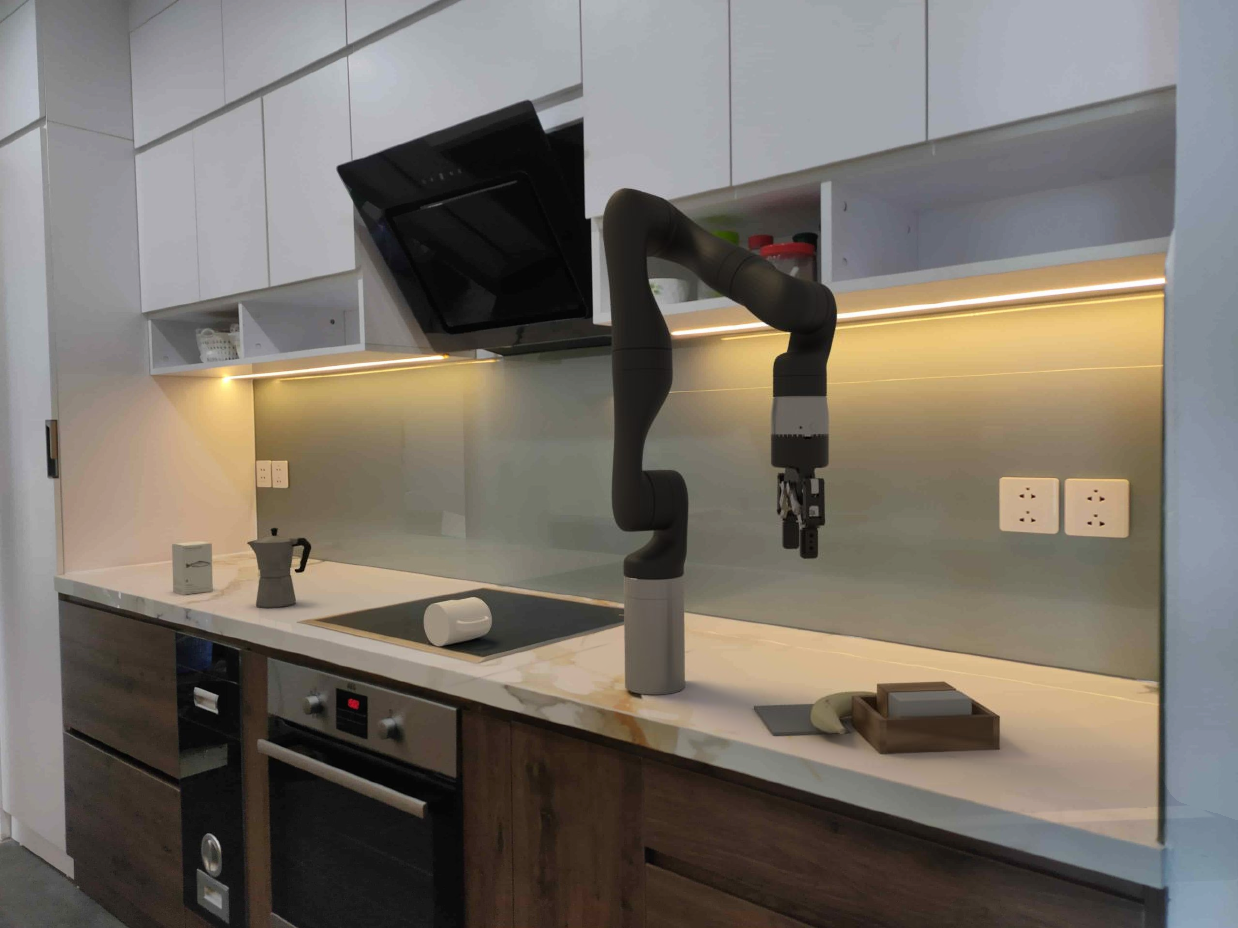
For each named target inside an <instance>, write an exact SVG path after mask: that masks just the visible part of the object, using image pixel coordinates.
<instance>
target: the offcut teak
mask: <svg viewBox="0 0 1238 928" xmlns="http://www.w3.org/2000/svg"><path fill="white" fill-rule="evenodd" d="M952 690H958V689H957V688H955V687H954V686H952V685H951V684H949V683H948V682H946V681H922V682H921V681H919V682H918V681H916V682H915V681H913V682H912V681H911V682H886V683H884V682H883V683H882V682H881V683H876V693H877V713H879V714H880V715H881V716H882V717H883V718H889V695H888V693H894V692H923V691H952Z"/></svg>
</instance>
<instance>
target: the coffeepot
mask: <svg viewBox="0 0 1238 928" xmlns="http://www.w3.org/2000/svg"><path fill="white" fill-rule="evenodd" d="M278 531H279V528H277V527H272V528H270V533H271V535H270V536H267V537H262V538H257V539H253V540H250V541H247V543H246V545H248V546H250V547H251V549H252V551H253V552H254V554H255V556H256V557H255V558H256V562H257V568H258V569H257V570H258V571H259V576H260V577H259V581H258V588H257V596H256V600H255V606H256V607H257V608H262V609H263V608H264V609H265V608H268V609H269V608H271V609H272V608H273V609H274V608H281V607H282V608H283V607H288V606H293V605H295V604H296V601H297V600H296V593H295V589H294V583H293V578H292V575H291V569H292V565H293V557H294V556H293V555H294V547H295V548H296V547H299V546H302V547H303V550H302V553H301V554H302V555H301V559H300V561H299V568H294V573H296V574H300V573H304V572H305V570H306V566H307V563H308V560H309V556H310V553H311V550H312V544H311V543H310V541H308V540H307V539H306V538H305V537H287V536H281V535H278Z"/></svg>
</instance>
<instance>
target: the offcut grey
mask: <svg viewBox="0 0 1238 928" xmlns="http://www.w3.org/2000/svg"><path fill="white" fill-rule="evenodd" d="M963 693H964V692H963V691H960V690H958V689H957V690H952V691H923V692H894V693H888V695H889V718H902V717H930V716H958V715H972V699H973V698H972V699H971V697H970V696H969V697H968V695H967V694H965V693H964V694H963Z"/></svg>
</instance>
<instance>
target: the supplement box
mask: <svg viewBox="0 0 1238 928" xmlns="http://www.w3.org/2000/svg"><path fill="white" fill-rule="evenodd" d="M212 545H213V544H212V542H208V541H201V540H199V541H189V542H188V541H187V542H177V543H172V544H171V551H172V552H171V554H172V561H171V563H172V592H173V593H174V594H175V593H176V594H179V595H181V596H186V595H192V594H194V595H195V594H201V593H209V592H210V591H212V592H213V589H214V586H213V585H214V584H213V546H212Z"/></svg>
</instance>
